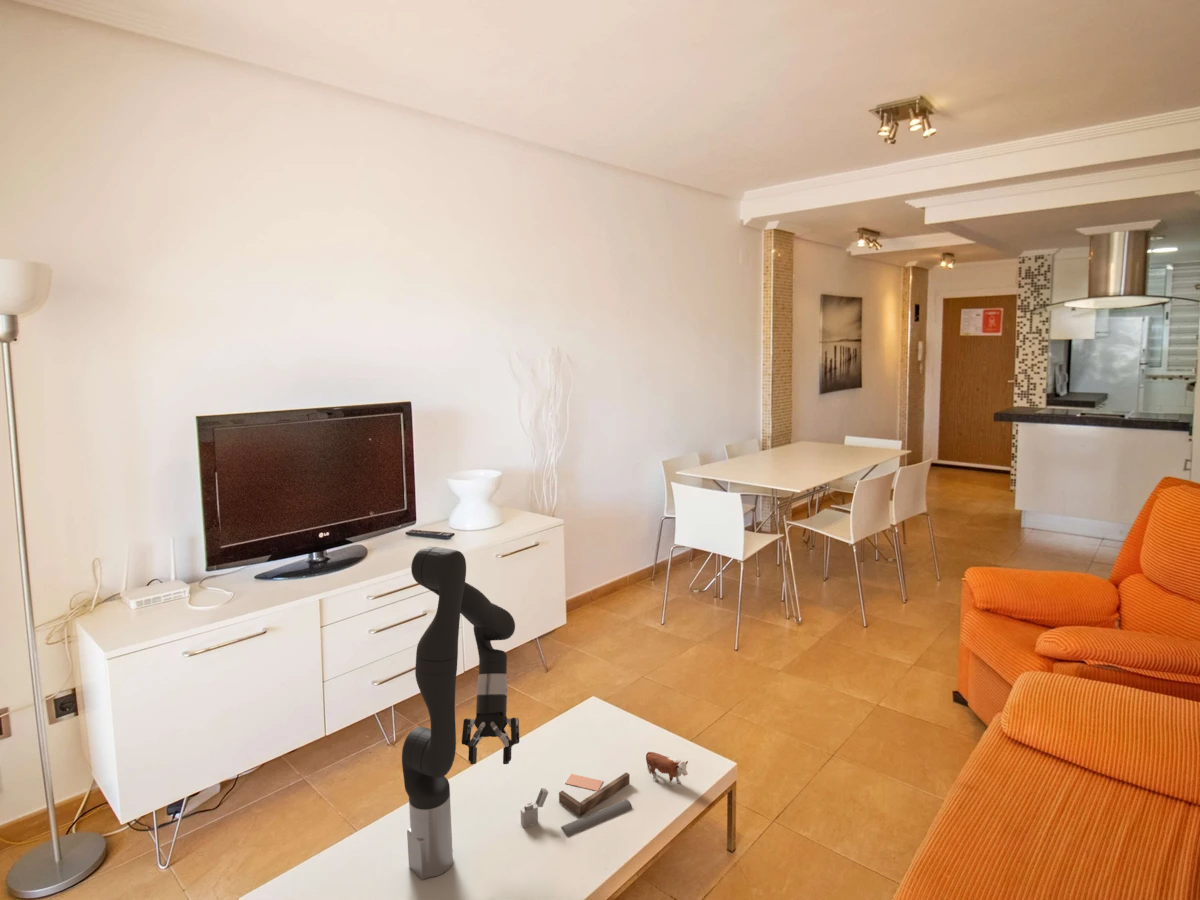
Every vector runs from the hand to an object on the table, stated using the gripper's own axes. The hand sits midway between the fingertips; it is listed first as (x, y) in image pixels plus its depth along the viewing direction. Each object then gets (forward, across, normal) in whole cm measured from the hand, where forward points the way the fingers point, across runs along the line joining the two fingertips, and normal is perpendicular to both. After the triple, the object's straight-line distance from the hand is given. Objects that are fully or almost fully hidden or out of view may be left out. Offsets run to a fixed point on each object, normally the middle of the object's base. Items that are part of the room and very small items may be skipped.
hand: (489, 764), depth 168 cm
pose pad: (+7, +15, +32) cm, 36 cm away
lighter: (+14, +6, +16) cm, 23 cm away
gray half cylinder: (+15, +21, +21) cm, 34 cm away
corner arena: (+9, +19, +29) cm, 36 cm away
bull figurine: (+7, +37, +38) cm, 54 cm away
